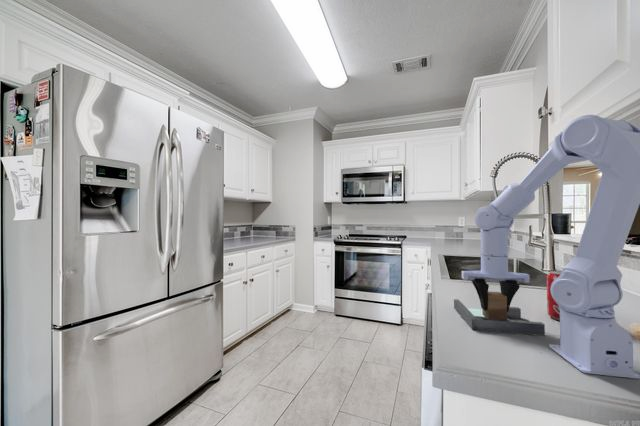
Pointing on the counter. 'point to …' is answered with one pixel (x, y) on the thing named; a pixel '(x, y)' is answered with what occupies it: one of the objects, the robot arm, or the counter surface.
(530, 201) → the robot arm
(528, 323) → the grey flat frame
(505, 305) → the walnut block
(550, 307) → the beverage can
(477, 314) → the pad
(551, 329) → the counter surface
